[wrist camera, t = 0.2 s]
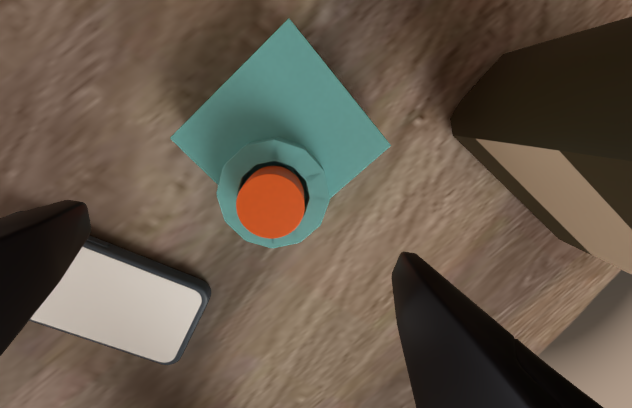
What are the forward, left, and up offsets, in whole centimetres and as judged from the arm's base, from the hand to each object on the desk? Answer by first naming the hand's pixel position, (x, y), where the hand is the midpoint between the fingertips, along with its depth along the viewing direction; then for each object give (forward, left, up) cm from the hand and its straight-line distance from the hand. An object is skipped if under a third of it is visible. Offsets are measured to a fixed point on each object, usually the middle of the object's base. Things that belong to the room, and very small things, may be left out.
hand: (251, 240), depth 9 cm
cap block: (+2, +1, -15) cm, 15 cm away
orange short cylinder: (-1, -1, -10) cm, 10 cm away
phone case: (-18, +2, -15) cm, 24 cm away
